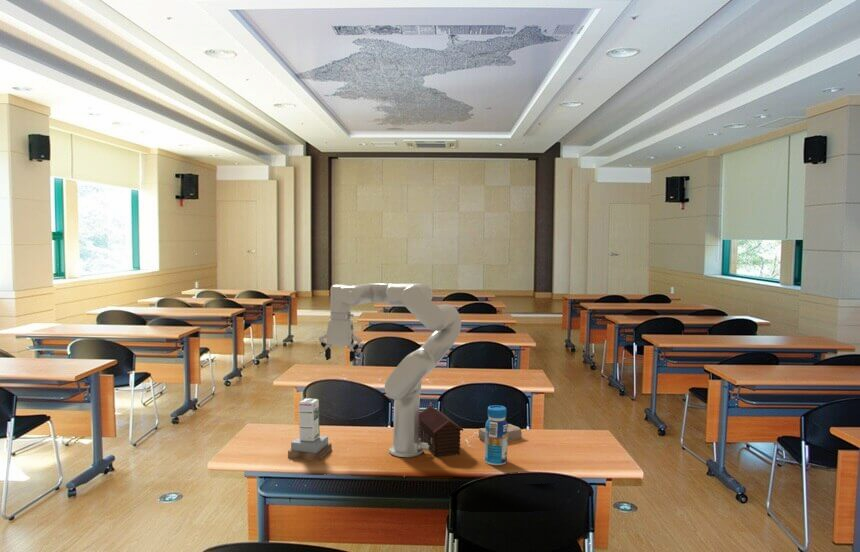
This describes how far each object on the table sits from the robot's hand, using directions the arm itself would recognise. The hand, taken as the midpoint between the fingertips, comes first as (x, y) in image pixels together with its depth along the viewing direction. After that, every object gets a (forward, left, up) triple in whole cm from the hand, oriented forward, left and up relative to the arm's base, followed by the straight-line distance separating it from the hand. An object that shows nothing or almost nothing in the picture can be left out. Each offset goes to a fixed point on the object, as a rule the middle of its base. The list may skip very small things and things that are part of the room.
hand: (340, 360), depth 238 cm
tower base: (+6, +15, -33) cm, 37 cm away
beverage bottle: (-62, +5, -32) cm, 70 cm away
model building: (-39, -4, -33) cm, 51 cm away
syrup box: (+6, +15, -27) cm, 32 cm away
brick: (-61, -20, -33) cm, 72 cm away
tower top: (+6, +15, -30) cm, 34 cm away
